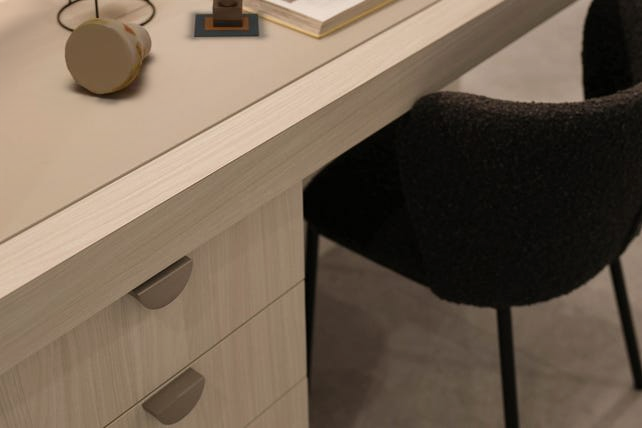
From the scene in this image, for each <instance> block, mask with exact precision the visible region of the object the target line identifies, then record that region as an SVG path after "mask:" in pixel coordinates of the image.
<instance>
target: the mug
mask: <svg viewBox="0 0 642 428" xmlns="http://www.w3.org/2000/svg"><path fill="white" fill-rule="evenodd" d="M152 45H153V43H152V38H151V35H150V33H149V31H148V30H147V29H146V28H145V27H143V26H142V25H140V24H138V23H134V22H126V23H123V22H121V21H119V20H116V19H114V18H113V19H112V18H109V17H95V18H91V19H88V20H86V21H83V22H82V23H81V24H79V25H78V26H76V27H75V29H73V31H72V32H71V33H70V34H69V36H68V37H67V40H66V42H65V45H64V46H65V47H64V60H65V64H66V68H67V70H68V72H69V74H70V76H71V77H72V79H73V81H74V82H75V83H76V84H78V85H79V86H81V87H83V88H84V89H86V90H88V91H89V92H91V93H93V94H96V95H104V94H110V93H111V94H112V93H115V92H118V91H122V90H123V89H125V88H126V87H128V86H129V85H131V83H133V82H134V80H135V79H136V77H137V76H138V75H139V72H140V71H141V69H142V64H143V60H144V59H146V58H147V57H148V55H149V54H150V53H151V50H152Z"/></svg>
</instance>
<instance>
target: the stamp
mask: <svg viewBox="0 0 642 428" xmlns="http://www.w3.org/2000/svg"><path fill="white" fill-rule="evenodd" d="M211 7H212V8H211V9H212V10H211V11H212V14H213V26H214V27H242V26H243V14H244V1H243V0H212V6H211Z"/></svg>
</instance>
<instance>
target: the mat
mask: <svg viewBox="0 0 642 428" xmlns="http://www.w3.org/2000/svg"><path fill="white" fill-rule="evenodd" d="M259 29H260V28H259V13H243V26H242V27H214V26H213V13H196V14H195V20H194V32H193V33H194V34H193V37H194V38H223V37H224V38H228V37H229V38H235V37H237V38H238V37H239V38H241V37H242V38H245V37H248V38H249V37H250V38H251V37H260V30H259Z"/></svg>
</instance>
